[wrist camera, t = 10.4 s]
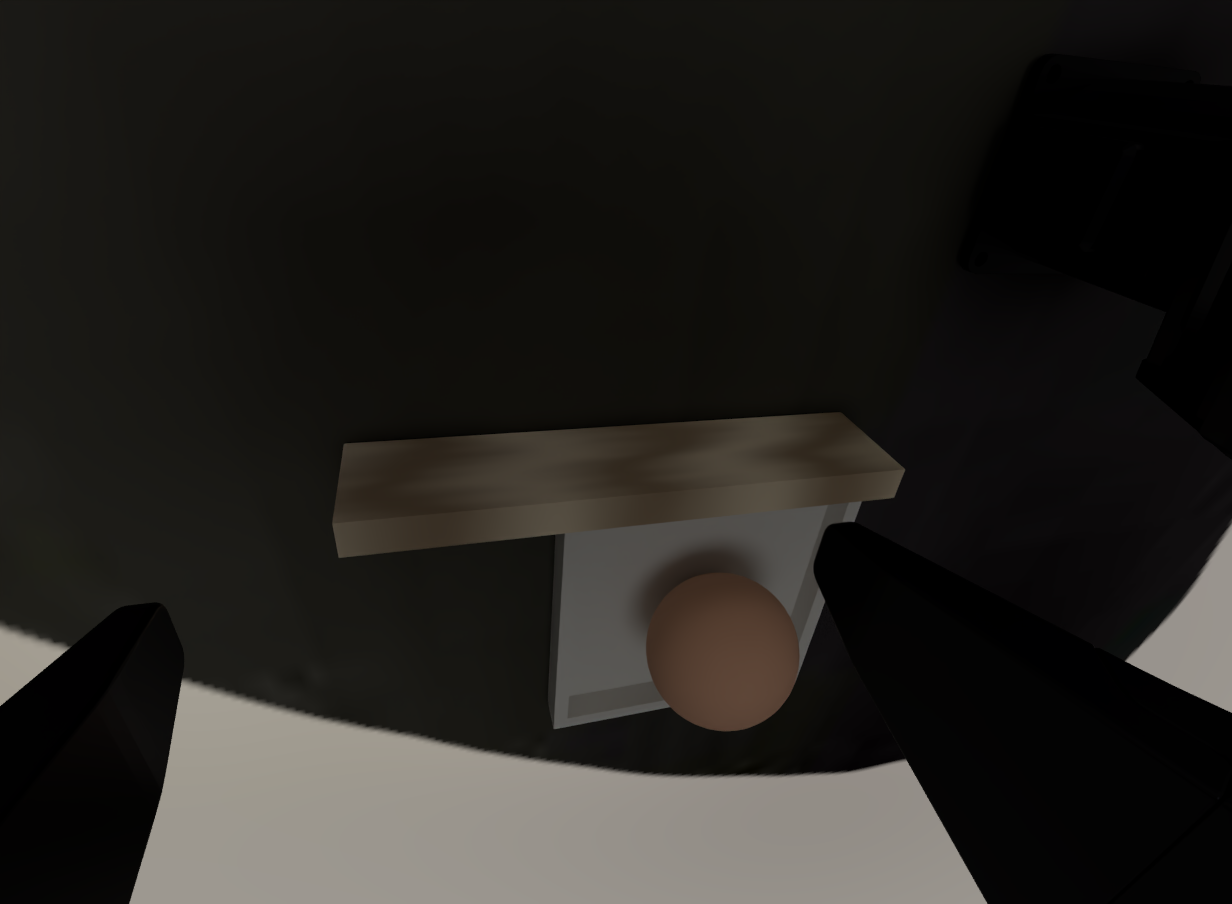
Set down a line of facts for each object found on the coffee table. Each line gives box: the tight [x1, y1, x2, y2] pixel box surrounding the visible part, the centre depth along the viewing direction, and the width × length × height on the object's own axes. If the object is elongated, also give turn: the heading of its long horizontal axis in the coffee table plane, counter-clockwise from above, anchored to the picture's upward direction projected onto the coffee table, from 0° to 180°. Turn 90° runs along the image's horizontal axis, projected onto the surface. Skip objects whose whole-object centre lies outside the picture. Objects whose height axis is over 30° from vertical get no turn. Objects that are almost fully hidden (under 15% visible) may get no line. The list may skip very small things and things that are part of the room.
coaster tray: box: [548, 501, 862, 729], centre depth 27 cm, size 12×12×2 cm
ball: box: [646, 572, 800, 731], centre depth 25 cm, size 6×6×6 cm
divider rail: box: [332, 412, 905, 558], centre depth 21 cm, size 18×1×4 cm, turn 85°
